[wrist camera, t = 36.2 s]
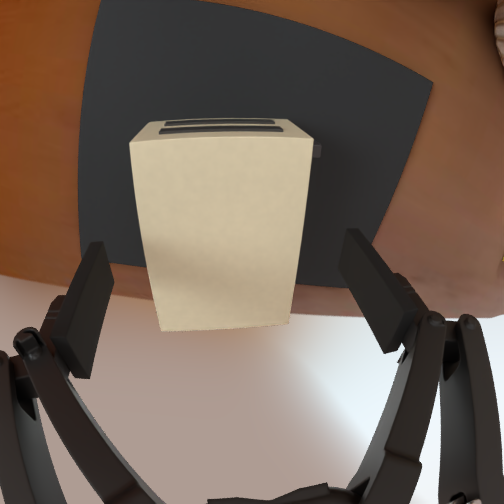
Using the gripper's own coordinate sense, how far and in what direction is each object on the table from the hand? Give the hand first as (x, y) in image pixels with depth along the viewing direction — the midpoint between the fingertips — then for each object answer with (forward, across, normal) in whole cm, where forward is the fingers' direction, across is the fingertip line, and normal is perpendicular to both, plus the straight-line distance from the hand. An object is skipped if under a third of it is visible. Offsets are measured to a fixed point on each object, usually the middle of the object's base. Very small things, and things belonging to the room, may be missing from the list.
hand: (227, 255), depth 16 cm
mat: (+7, +2, +3) cm, 8 cm away
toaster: (+4, 0, -7) cm, 8 cm away
